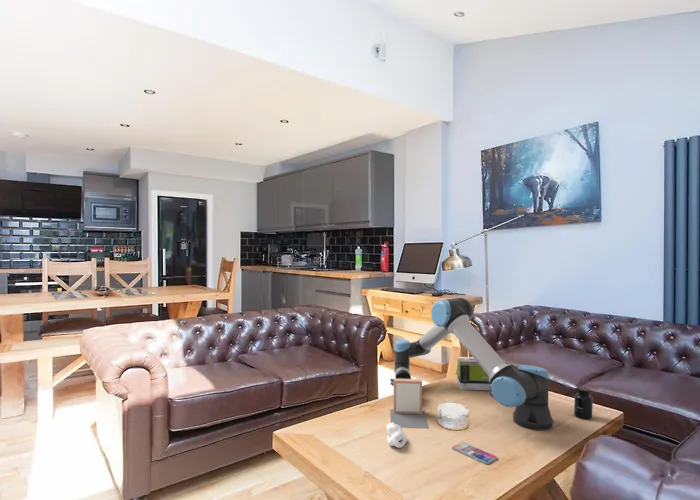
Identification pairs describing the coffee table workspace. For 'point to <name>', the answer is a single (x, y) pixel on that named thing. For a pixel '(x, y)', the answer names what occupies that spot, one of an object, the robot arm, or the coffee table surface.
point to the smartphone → (475, 453)
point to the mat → (409, 420)
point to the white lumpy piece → (395, 435)
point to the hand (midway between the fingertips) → (405, 394)
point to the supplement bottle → (583, 404)
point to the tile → (408, 396)
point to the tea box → (471, 375)
